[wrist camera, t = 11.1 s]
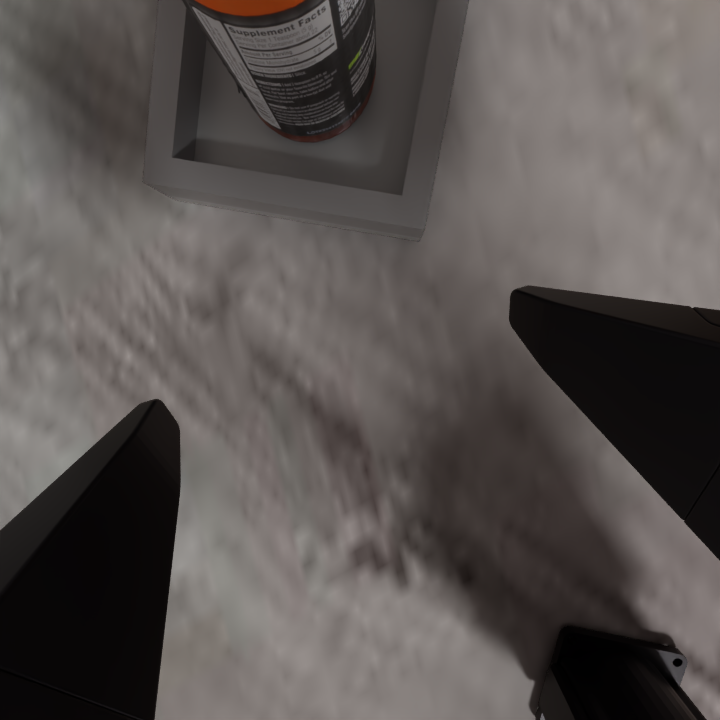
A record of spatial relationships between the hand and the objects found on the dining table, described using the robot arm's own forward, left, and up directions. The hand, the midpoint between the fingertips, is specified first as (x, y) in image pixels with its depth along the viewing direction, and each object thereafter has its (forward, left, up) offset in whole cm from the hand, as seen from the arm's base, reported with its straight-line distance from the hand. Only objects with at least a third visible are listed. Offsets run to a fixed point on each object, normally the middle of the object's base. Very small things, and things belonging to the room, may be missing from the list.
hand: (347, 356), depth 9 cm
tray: (+4, -11, -9) cm, 15 cm away
